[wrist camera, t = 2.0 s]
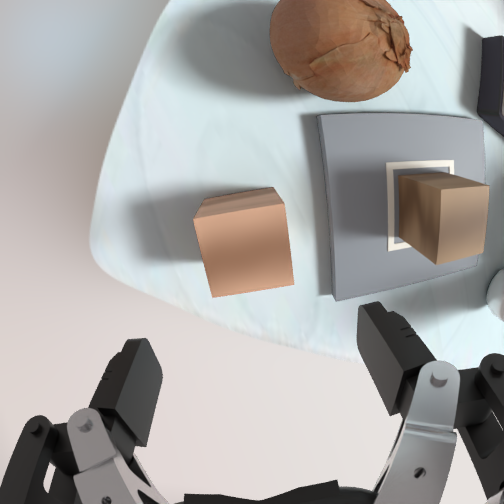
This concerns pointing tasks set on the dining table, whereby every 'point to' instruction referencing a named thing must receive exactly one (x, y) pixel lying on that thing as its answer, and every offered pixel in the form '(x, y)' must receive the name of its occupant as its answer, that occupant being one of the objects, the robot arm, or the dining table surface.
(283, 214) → the terracotta block
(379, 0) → the onion
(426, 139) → the grey flat plate
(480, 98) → the calculator
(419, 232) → the walnut block
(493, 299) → the plastic bottle
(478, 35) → the dining table surface
